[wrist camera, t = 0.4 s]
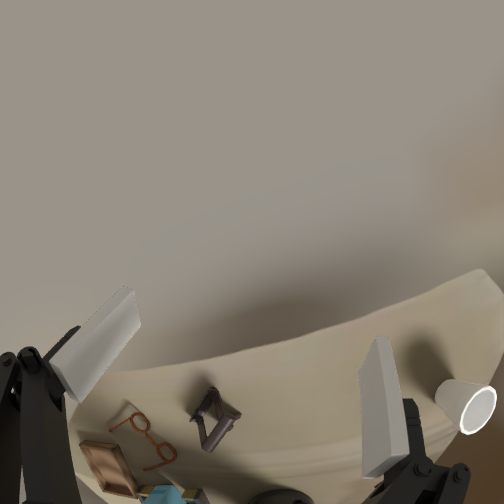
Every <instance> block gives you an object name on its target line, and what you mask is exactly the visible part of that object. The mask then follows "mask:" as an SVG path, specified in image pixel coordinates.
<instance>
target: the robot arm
mask: <svg viewBox="0 0 504 504" xmlns="http://www.w3.org/2000/svg"><path fill="white" fill-rule="evenodd" d="M140 326H141V324H140V319H139V314H138V309H137V304H136V298H135V293H134V289H132V288H128V287H125V286H123V287H122V288H121V289H120V290H119V291H118V292H117V293H116V294H114V295H113V296H112V297H111V298H110V299H109V300H108V301H107V302H106V303H105V304H104V305H103V306H102V307H101V308H100V309H99V310H98V311H97V312H96V313H95V314H94V315H93V316H92V317H91V318H90V319H89V320H88V321H87V322H86V323H85V324H84V325H83V326H82V327H81V326H76V327H74V328H72V329H71V330H69V331H68V333H66V334H65V336H64V337H62V339H61V340H60V341H59V342H57V344H56V345H55V346H54V347H53V348H52V349H51V350H50V351H49V352H48V353H47V354H46V355H45V356H44V357H43V358H41V356H40V354H39V352H38V351H37V349H36V348H34V347H25V348H23V349H22V350H20V352H19V353H18V355H17V358H16V356H15V355H14V354H13V353H12V352H6V353H4V354H2V355H1V356H0V504H19V494H20V478H21V468H23V477H24V484H25V491H26V501H24V502H23V503H22V504H82V501H81V498H80V494H79V490H78V486H77V482H76V477H75V472H74V468H73V462H72V457H71V451H70V444H69V437H68V429H67V420H66V408H65V398H64V395H63V394H64V392H65V391H67V393H68V395H69V396H70V398H72V399H74V400H75V401H77V402H79V403H80V404H81V403H82V402H83V400H84V399H85V398H86V396H87V395H88V394H89V392H90V391H91V390H92V388H93V387H94V386H95V384H96V383H97V382H98V380H99V379H100V378H101V376H102V375H103V374H104V372H105V371H106V370H107V368H108V367H109V366H110V364H111V363H112V362H113V361H114V359H115V358H116V357H117V355H118V354H119V353H120V352H121V350H122V349H123V348H124V346H125V345H126V344H127V342H129V340H130V339H131V338H132V336H133V335H134V334H135V333H136V331H137V330H138V329H139V327H140ZM359 380H360V394H361V414H362V478H378V477H380V476H381V475H383V474H384V480H383V481H382V482H380V483H379V484H377V485H376V486H375V488H376V489H375V490H374V491H373V492H372V493H371V494H370V495H369V496H368V498H367V499H366V500H365V501H364V502H363V503H362V504H463V502H464V499H465V495H466V492H467V489H468V485H469V481H470V476H471V475H470V474H471V473H470V469H469V468H468V466H467V465H465V464H463V463H458V464H455V465H454V466H452V467H451V468H449V467H444V466H438V465H435V464H433V461H432V460H431V459H430V458H428V457H427V456H426V453H425V446H424V439H423V433H422V427H421V421H420V419H419V417H420V416H419V410H418V407H417V405H416V403H415V402H414V400H413V399H402V395H401V390H400V384H399V379H398V374H397V370H396V365H395V360H394V356H393V352H392V347H391V343H390V339H389V338H388V337H379V336H376V337H375V339H374V341H373V343H372V346H371V348H370V350H369V352H368V354H367V356H366V358H365V360H364V362H363V364H362V366H361V368H360V370H359ZM12 387H13V389H14V392H13V393H11V390H12ZM249 504H314V502H313V500H312V499H311V498H310V497H309V496H307V495H305V494H303V493H301V492H297V491H293V490H273V491H268V492H264V493H262V494H259V495H257V496H256V497H254V498H253V499H252V500H251V501H250V502H249Z"/></svg>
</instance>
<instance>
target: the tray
mask: <svg viewBox="0 0 504 504" xmlns="http://www.w3.org/2000/svg"><path fill="white" fill-rule="evenodd" d="M79 446H80V449H81V451H82V453H83V455H84V457H85V459H86V461H87V463H88V465H89V467H90V469H91V471H92V473H93V475H94V477H95V479H96V480H97V482H98V484H99V486H100V487H101V489H102V491H103V492H106V493H110V494H114V495H119V496H123V497H128V498H134V499H138V497H137V495H136V491H137V490H138V489H139V487H138V485H137V483H136V481H135V479H134V477H133V475H132V473H131V471H130V469H129V467H128V465H127V463H126V461H125V459H124V457H123V454H122V452H121V450H120V448H119V445H116V444H107V443H100V442H93V441H86V440H85V441H83V442H82V443H80V444H79Z"/></svg>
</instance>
